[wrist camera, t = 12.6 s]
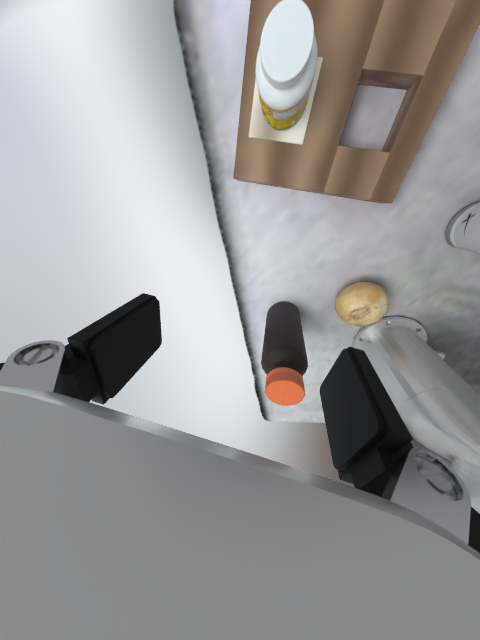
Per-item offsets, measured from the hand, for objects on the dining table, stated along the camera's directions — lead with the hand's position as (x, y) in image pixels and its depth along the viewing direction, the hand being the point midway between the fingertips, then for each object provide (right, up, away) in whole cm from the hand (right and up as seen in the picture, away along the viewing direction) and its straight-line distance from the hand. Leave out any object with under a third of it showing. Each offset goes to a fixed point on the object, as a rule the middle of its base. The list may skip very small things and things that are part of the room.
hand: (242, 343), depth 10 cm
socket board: (+11, +28, +15) cm, 33 cm away
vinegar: (+9, +2, +31) cm, 33 cm away
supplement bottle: (+5, +27, +13) cm, 31 cm away
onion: (+22, +6, +27) cm, 35 cm away
